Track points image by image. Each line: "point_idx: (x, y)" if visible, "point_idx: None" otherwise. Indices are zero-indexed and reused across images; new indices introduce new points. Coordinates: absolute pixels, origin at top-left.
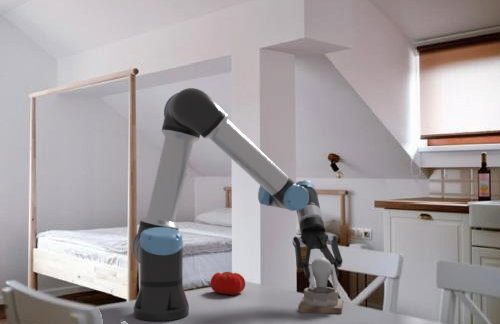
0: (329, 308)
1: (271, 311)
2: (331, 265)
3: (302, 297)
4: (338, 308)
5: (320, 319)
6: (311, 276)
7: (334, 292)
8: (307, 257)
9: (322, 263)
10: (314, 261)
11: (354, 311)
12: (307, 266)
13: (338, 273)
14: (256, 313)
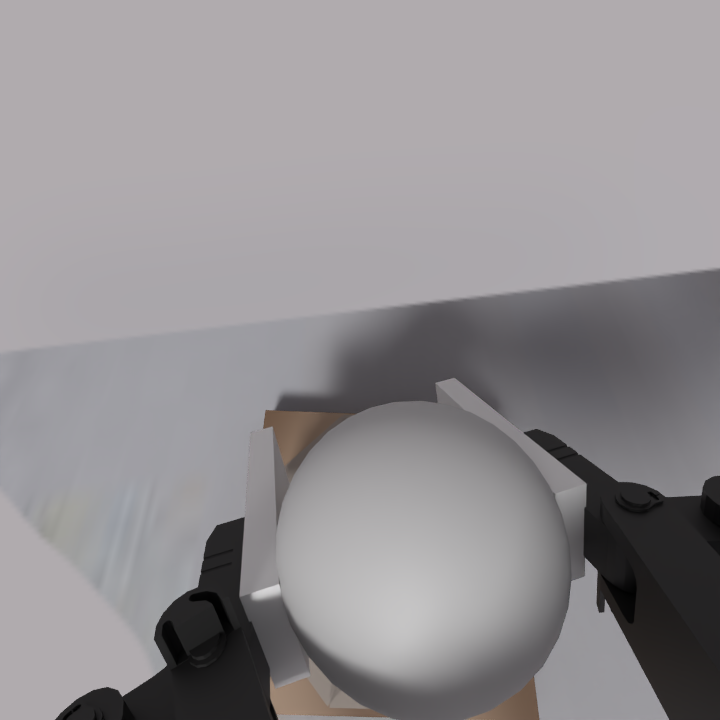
0: (331, 413)
1: (624, 414)
2: (279, 521)
3: (536, 701)
4: (282, 412)
5: (371, 309)
6: (487, 407)
7: (290, 473)
8: (718, 601)
9: (402, 409)
10: (530, 468)
11: (193, 478)
12: (597, 504)
13: (213, 536)
14: (674, 368)
